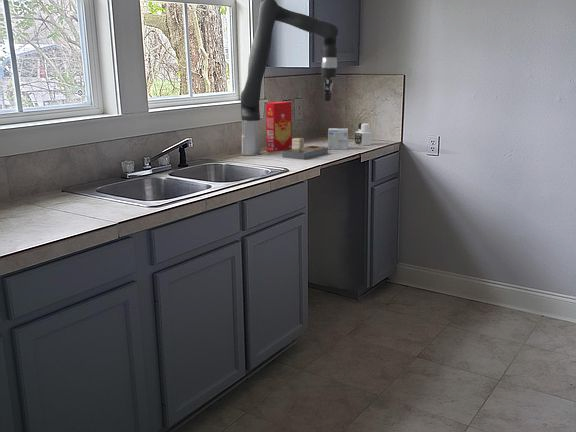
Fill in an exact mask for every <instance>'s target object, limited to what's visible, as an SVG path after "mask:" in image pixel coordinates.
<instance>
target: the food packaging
mask: <svg viewBox="0 0 576 432" xmlns="http://www.w3.org/2000/svg"><path fill="white" fill-rule="evenodd" d="M292 105H293V104H292V101H274V102H273V101H272V102H266V103H265V111H266V112H265V123H266V124H265V126H266V127H265V130H266V133H265V134H266V138H265V139H266V141H265V142H266V152H267V153H275V152H281V151H286V150H290V149H292V139H293V135H292V133H293V132H292V127H293V126H292V124H293V123H292V122H293V121H292V119H293V118H292V115H293V114H292V112H293V110H292V109H293V108H292Z"/></svg>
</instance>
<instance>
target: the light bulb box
mask: <svg viewBox="0 0 576 432" xmlns="http://www.w3.org/2000/svg"><path fill="white" fill-rule="evenodd" d="M327 138H328V139H327V148H328V150H348V148H349V128H347V127H346V128H344V127H343V128H340V127H339V128H338V127H337V128H330V127H329V128H328V130H327Z"/></svg>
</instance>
